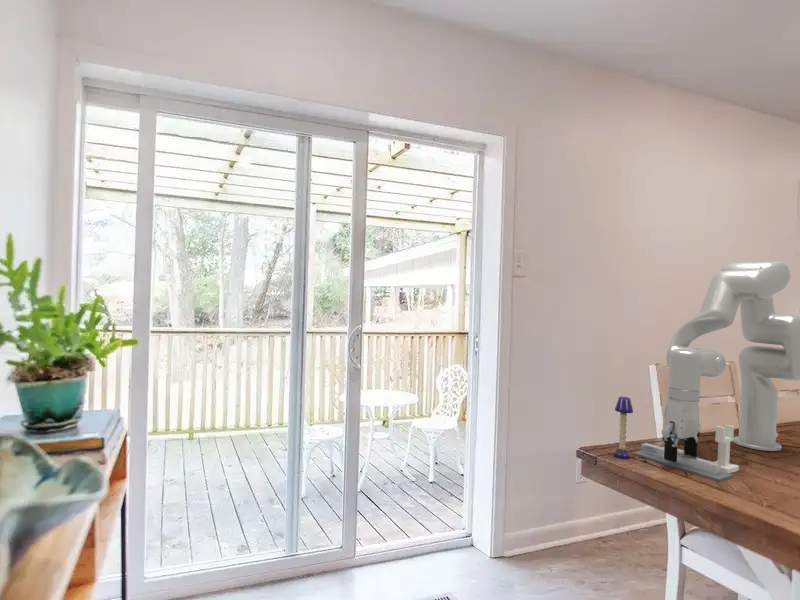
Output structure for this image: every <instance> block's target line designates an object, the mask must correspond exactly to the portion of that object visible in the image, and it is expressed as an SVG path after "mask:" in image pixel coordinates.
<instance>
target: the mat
mask: <svg viewBox="0 0 800 600" xmlns="http://www.w3.org/2000/svg"><path fill="white" fill-rule="evenodd" d="M641 451H642V450H639V451H634V452H633V453H632V455H633V456H636V457H640V458H643V459H645V460H649V461H652V462H656V463H657V464H658V463H659V464H662V465H666V466H667V467H671V468H675V469H677V468H678V469H677V470H681V471H684V472H686V473H690V474H694V475H696V476H700V477H703V478H706V479H708V480H713V481H716V482H722V481H726V480H729V479H733V478H734V475H733V474H732V473H729V474H728V473H725V472H722V471H721V474H719V475H716V476H715V475H712V474H709V473H706V472H702V471H699V470H696V469H693V468H689V467H686V466H683V465H680V464H676V463H673V462H670V461H667V460H663V459H660V458H657V457H654V456H650V455H647V454H644V453H641Z"/></svg>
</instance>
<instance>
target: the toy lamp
mask: <svg viewBox="0 0 800 600" xmlns="http://www.w3.org/2000/svg"><path fill="white" fill-rule="evenodd" d="M614 408H615V409H614V410H615V411H616V412H618V413H619V422H620V423H619V430H618V431H619V435H618V438H619V440H618V442H619V445H618V446H619V447H618V448H619V449H618V448H617V449H616V450H615V451H614V453H613V456H614V457H616V458H618V459H630V458H631V455H630V453H629V452H628V450H626V449H627V447H626V443H627V441H626V439H627V429H626V428H627V421H628V419H627V416H628V414H633V413H634V410H633V405H632V401H631V398H630V397H628V396H618V399H617V402H616V405H615V407H614Z"/></svg>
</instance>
